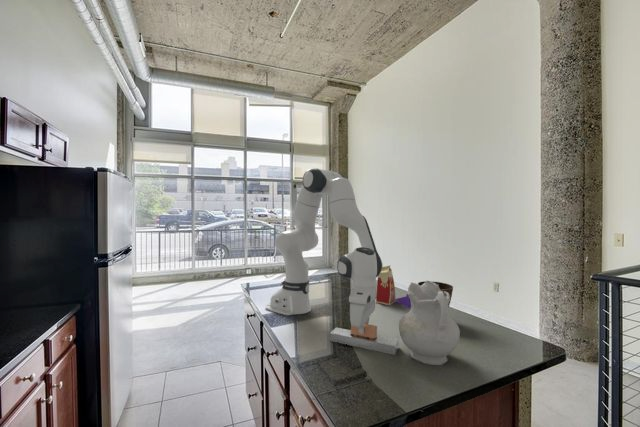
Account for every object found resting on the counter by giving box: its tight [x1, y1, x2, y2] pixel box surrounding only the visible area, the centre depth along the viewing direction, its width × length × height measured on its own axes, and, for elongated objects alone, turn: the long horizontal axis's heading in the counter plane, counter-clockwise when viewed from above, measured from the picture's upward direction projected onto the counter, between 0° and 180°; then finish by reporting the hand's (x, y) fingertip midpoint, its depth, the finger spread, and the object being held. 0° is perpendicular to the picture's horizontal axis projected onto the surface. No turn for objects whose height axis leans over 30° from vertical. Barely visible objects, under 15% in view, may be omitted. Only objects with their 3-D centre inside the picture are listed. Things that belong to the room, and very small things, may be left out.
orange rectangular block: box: [350, 323, 378, 340], centre depth 110 cm, size 9×3×7 cm, turn 66°
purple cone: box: [396, 293, 411, 309], centre depth 159 cm, size 12×7×7 cm, turn 17°
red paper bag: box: [375, 265, 397, 306], centre depth 161 cm, size 9×9×20 cm
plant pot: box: [417, 280, 454, 308], centre depth 135 cm, size 15×15×16 cm
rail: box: [329, 327, 399, 356], centre depth 110 cm, size 24×6×3 cm, turn 66°
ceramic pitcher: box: [398, 280, 461, 366], centre depth 100 cm, size 22×20×25 cm
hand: (363, 330), depth 110 cm, fingers open, 4 cm apart
